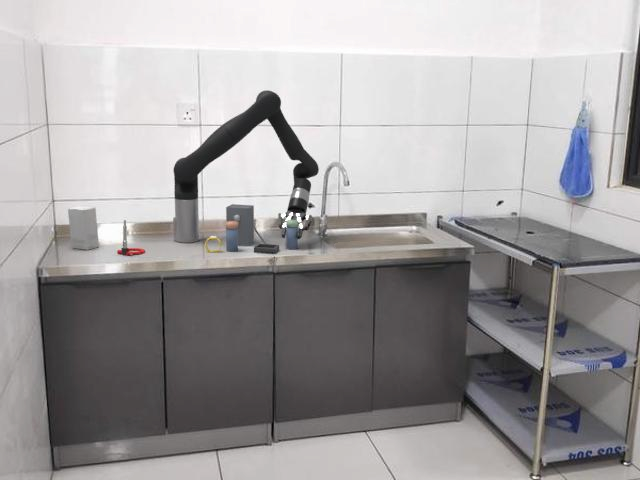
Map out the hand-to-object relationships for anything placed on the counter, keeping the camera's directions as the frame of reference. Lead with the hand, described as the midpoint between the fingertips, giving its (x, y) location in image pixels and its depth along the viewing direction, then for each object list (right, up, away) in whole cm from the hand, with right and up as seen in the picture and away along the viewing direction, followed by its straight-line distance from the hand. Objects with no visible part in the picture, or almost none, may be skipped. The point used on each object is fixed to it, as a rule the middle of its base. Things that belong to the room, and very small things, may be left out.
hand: (290, 237), depth 255 cm
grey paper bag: (-79, -4, -3) cm, 79 cm away
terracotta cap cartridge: (-22, -5, -2) cm, 23 cm away
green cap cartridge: (0, -4, +3) cm, 5 cm away
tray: (-9, -5, -3) cm, 11 cm away
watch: (-29, -6, -5) cm, 30 cm away
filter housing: (-21, -2, +10) cm, 23 cm away
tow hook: (-59, -6, -9) cm, 60 cm away
